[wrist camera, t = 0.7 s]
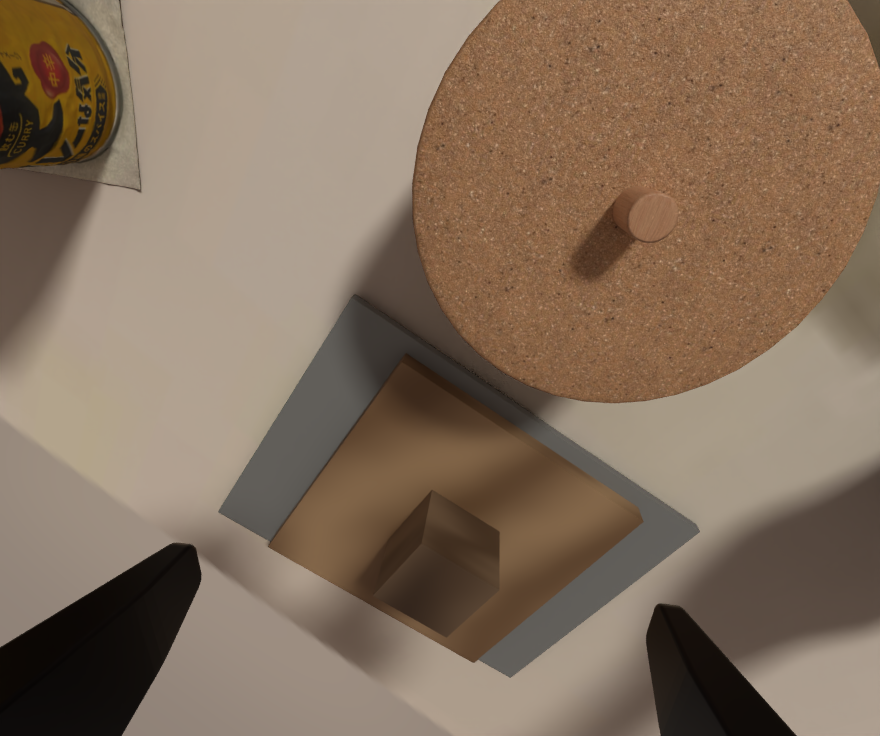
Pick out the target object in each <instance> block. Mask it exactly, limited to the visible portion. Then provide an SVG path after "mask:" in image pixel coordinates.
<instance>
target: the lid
mask: <svg viewBox="0 0 880 736" xmlns="http://www.w3.org/2000/svg"><path fill="white" fill-rule="evenodd" d="M643 522H644V521H643V519H642V516H641V513H640V511H639V508H638V507H637V506H635V505H634V504H632V503H631V502H629V501H628V500H626V499H625V498H623V497H622V496H620V495H619V494H617V493H616V492H614V491H613V490H611V489H610V488H608V487H607V486H605V485H604V484H602V483H601V482H599V481H598V480H596V479H595V478H593V477H592V476H590V475H589V474H587V473H586V472H584V471H583V470H581V469H580V468H578V467H577V466H575V465H574V464H572V463H571V462H569V461H568V460H566V459H565V458H563V457H562V456H560V455H559V454H557V453H556V452H554V451H553V450H551V449H550V448H548V447H547V446H545V445H544V444H542V443H541V442H539V441H538V440H536V439H535V438H533V437H532V436H530V435H529V434H527V433H526V432H524V431H523V430H521V429H520V428H518V427H517V426H515V425H514V424H512V423H511V422H509V421H508V420H506V419H505V418H503V417H502V416H500V415H499V414H497V413H496V412H494V411H493V410H491V409H490V408H488V407H487V406H485V405H484V404H482V403H480V402H479V401H477V400H476V399H474V398H473V397H471V396H470V395H468V394H467V393H465V392H464V391H462V390H461V389H459V388H458V387H456V386H455V385H453V384H452V383H450V382H449V381H447V380H446V379H444V378H443V377H441V376H440V375H438V374H437V373H435V372H434V371H432V370H431V369H429V368H428V367H426V366H425V365H423V364H422V363H420V362H419V361H417V360H416V359H414V358H413V357H411V356H410V355H408V354H407V353H405V355H404V356H403V357H402V359H401V360H400V362H399V363H398V364H397V366H396V367H395V369H394V370H393V371H392V373H391V374H390V376H389V377H388V378H387V380H386V381H385V382H384V384H383V385H382V387H381V388H380V389H379V391H378V392H377V394H376V395H375V396H374V398H373V399H372V400H371V402H370V403H369V405H368V406H367V407H366V409H365V410H364V412H363V413H362V414H361V416H360V417H359V419H358V420H357V421H356V423H355V424H354V425H353V427H352V428H351V430H350V431H349V432H348V434H347V435H346V437H345V438H344V439H343V441H342V442H341V443H340V445H339V446H338V448H337V449H336V450H335V452H334V453H333V455H332V456H331V457H330V459H329V460H328V462H327V463H326V464H325V466H324V467H323V468H322V470H321V471H320V473H319V474H318V475H317V477H316V478H315V480H314V481H313V482H312V484H311V485H310V486H309V488H308V489H307V491H306V492H305V493H304V495H303V496H302V498H301V499H300V500H299V502H298V503H297V505H296V506H295V507H294V509H293V510H292V511H291V513H290V514H289V516H288V517H287V518H286V520H285V521H284V523H283V524H282V525H281V527H280V528H279V529H278V531H277V532H276V534H275V535H274V537H273V539H272V541H271V542H270V544H269V546H268V547H269V548H271V549H273V550H274V551H276V552H278V553H280V554H281V555H283V556H285V557H287V558H289V559H290V560H292V561H294V562H296V563H297V564H299V565H301V566H303V567H304V568H306V569H308V570H310V571H312V572H313V573H315V574H317V575H319V576H320V577H322V578H324V579H326V580H327V581H329V582H331V583H333V584H335V585H336V586H338V587H340V588H342V589H343V590H345V591H347V592H349V593H350V594H352V595H354V596H356V597H358V598H359V599H361V600H363V601H365V602H366V603H368V604H370V605H372V606H373V607H375V608H377V609H379V610H381V611H382V612H384V613H386V614H388V615H389V616H391V617H393V618H395V619H397V620H398V621H400V622H402V623H404V624H405V625H407V626H409V627H411V628H412V629H414V630H416V631H418V632H420V633H421V634H423V635H425V636H427V637H428V638H430V639H432V640H434V641H435V642H437V643H439V644H441V645H443V646H444V647H446V648H448V649H450V650H451V651H453V652H455V653H457V654H458V655H460V656H462V657H464V658H466V659H467V660H469V661H471V662H473V663H474V662H475V661H476V660H478V659H479V658H480V657H481V656H482V655H484V654H485V653H486V652H487V651H489V650H490V649H491V648H492V647H493V646H495V645H496V644H497V643H498V642H499V641H501V640H502V639H503V638H504V637H505V636H507V635H508V634H509V633H510V632H511V631H513V630H514V629H515V628H516V627H517V626H519V625H520V624H521V623H522V622H523V621H525V620H526V619H527V618H528V617H530V616H531V615H532V614H533V613H534V612H536V611H537V610H538V609H539V608H540V607H542V606H543V605H544V604H545V603H546V602H548V601H549V600H550V599H551V598H552V597H554V596H555V595H556V594H557V593H558V592H560V591H561V590H562V589H563V588H564V587H566V586H567V585H568V584H569V583H571V582H572V581H573V580H574V579H575V578H577V577H578V576H579V575H580V574H581V573H583V572H584V571H585V570H586V569H587V568H589V567H590V566H591V565H592V564H593V563H595V562H596V561H597V560H598V559H599V558H601V557H602V556H603V555H604V554H605V553H607V552H608V551H609V550H610V549H612V548H613V547H614V546H615V545H616V544H618V543H619V542H620V541H621V540H622V539H624V538H625V537H626V536H627V535H628V534H630V533H631V532H632V531H633V530H634V529H636V528H637V527H638V526H639V525H640V524H642V523H643Z"/></svg>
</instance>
